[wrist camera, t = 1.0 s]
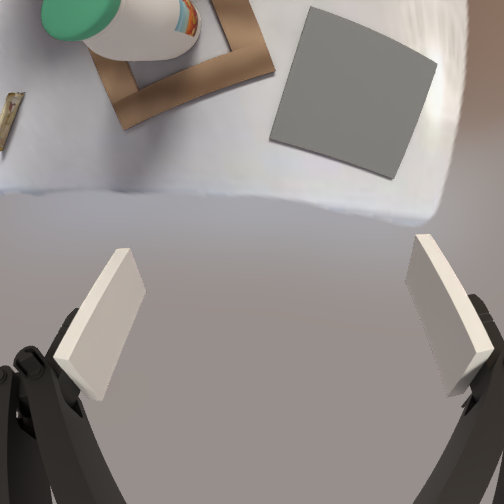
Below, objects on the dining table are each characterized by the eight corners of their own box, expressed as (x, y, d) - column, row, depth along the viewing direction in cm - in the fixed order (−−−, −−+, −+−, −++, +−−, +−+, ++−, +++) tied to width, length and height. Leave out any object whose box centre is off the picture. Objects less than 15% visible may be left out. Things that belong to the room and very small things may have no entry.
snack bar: (4, 150, 33) (-9, 157, 31) (-2, 145, 33) (-15, 152, 30) (26, 92, 29) (12, 96, 27) (19, 87, 29) (6, 91, 26)
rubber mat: (310, 6, 25) (310, 6, 25) (435, 63, 28) (437, 63, 27) (269, 137, 34) (269, 138, 34) (392, 177, 36) (393, 179, 36)
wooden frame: (74, 5, 24) (70, 5, 23) (219, -64, 20) (218, -66, 20) (125, 129, 33) (123, 130, 32) (275, 70, 30) (275, 70, 29)
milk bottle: (193, 64, 29) (123, 70, 13) (127, 57, 28) (10, 71, 12) (209, 0, 25) (158, -66, 8) (141, -5, 24) (34, -48, 7)
